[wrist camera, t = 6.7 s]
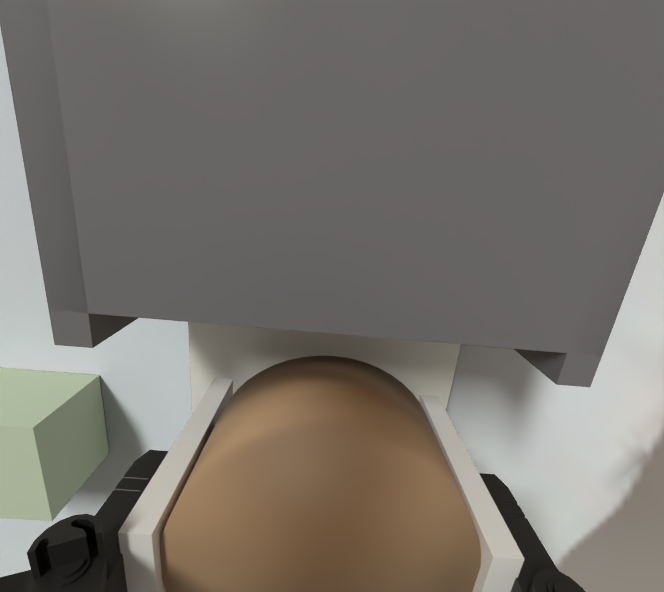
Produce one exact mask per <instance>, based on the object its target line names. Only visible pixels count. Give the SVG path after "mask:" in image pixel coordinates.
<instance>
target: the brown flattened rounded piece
mask: <svg viewBox="0 0 664 592" xmlns="http://www.w3.org/2000/svg"><path fill="white" fill-rule="evenodd" d="M160 559H161V571H162V581H163V584H164V587H165V589H166V592H473V588H474V585H475V582H476V579H477V576H478V573H479V570H480V567H481V549H480V541H479V537H478V534H477V531H476V528H475V525H474V523H473V520H472V518H471V516H470V513H469V511H468V509H467V507H466V504H465V502H464V500H463V497H462V495H461V493H460V491H459V488H458V486H457V484H456V481H455V479H454V477H453V474H452V472H451V470H450V468H449V465H448V463H447V461H446V458H445V456H444V454H443V452H442V449H441V447H440V445H439V442H438V440H437V438H436V436H435V433H434V431H433V429H432V426H431V424H430V422H429V420H428V417H427V415H426V413H425V411H424V409H423V408H422V406H421V404H420V402H419V401H418V400H417V398H416V397H415V396H414V394H413V393H412V392H411V391H410V390H409V389H408V388H407V387H406V386H405V385H404V384H403V383H402V382H400V381H399V380H398V379H396V378H395V377H394V376H392V375H391V374H389V373H387V372H385V371H384V370H382V369H380V368H378V367H375V366H373V365H371V364H368V363H366V362H362V361H359V360H355V359H351V358H345V357H338V356H308V357H301V358H296V359H291V360H287V361H284V362H281V363H278V364H276V365H273V366H271V367H269V368H267V369H265V370H263V371H261V372H259V373H258V374H256V375H255V376H253V377H252V378H250V379H249V380H247V381H246V382H245V383H244V384H243V385H242V386H241V387H239V388H238V389H237V390H236V392H235V393H234V394H233V395H232V396H231V398H230V399H229V400H228V402H227V403H226V405H225V407H224V408H223V410H222V412H221V414H220V416H219V418H218V420H217V422H216V424H215V426H214V428H213V430H212V432H211V434H210V436H209V438H208V440H207V442H206V444H205V446H204V448H203V450H202V452H201V454H200V456H199V458H198V460H197V462H196V464H195V466H194V468H193V470H192V472H191V474H190V476H189V478H188V480H187V482H186V484H185V486H184V488H183V490H182V492H181V494H180V496H179V499H178V501H177V503H176V505H175V507H174V509H173V511H172V513H171V515H170V517H169V519H168V521H167V524H166V526H165V529H164V531H163V534H162V538H161V543H160Z"/></svg>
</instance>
